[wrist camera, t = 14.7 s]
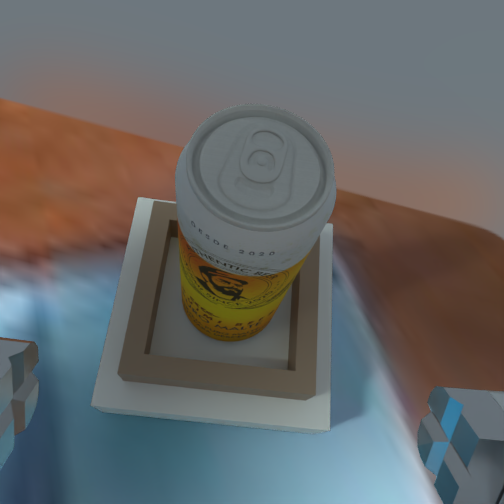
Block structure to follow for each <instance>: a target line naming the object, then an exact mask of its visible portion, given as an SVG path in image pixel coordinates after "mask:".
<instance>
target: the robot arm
mask: <svg viewBox="0 0 504 504" xmlns="http://www.w3.org/2000/svg"><path fill="white" fill-rule="evenodd" d="M38 361H39V359H38V346H37V345H36V343H35V342H33V341H25V340H17V339H9V338H2V337H0V470H1V468H2V467H3V465H4V463H5V462H6V460H7V458H8V457H9V455H10V454H11V452H12V450H13V449H14V436H15V435H16V434H18V433H20V432H22V431H23V430H25V429H26V427H27V426H28V424H29V422H30V420H31V419H32V416H33V413H34V410H35V408H36V405H37V400H38V393H39V380H38V379H37V377H36V376H35V375H34V374H33V372H32V370H33V368H34V367H35V366H36V364H37V363H38ZM428 405H429V407H430V409H431V412H430V413H429V414H428V415H426V416H425V417H424V418H423V419H421V423H420V426H419V430H418V450H419V454H420V457H421V459H422V461H423V464H424V466H425V467H426V468H427V469H429V470H430V471H431V472H432V473H433V474H435V475H436V476H437V477H436V480H435V483H434V486H435V488H436V490H437V492H438V494H439V496H440V498H441V500H442V502H443V504H504V391H490V390H473V389H462V388H450V387H439V386H436V387H435V388H434V389H433V390H432V392H431V394H430V396H429V399H428Z"/></svg>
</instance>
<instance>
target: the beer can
mask: <svg viewBox="0 0 504 504" xmlns="http://www.w3.org/2000/svg"><path fill="white" fill-rule="evenodd" d="M175 186H176V204H177V222H178V240H179V258H180V275H181V293H182V304H183V308H184V311H185V313H186V315H187V317H188V319H189V320H190V322H191V323H192V324H193V325H194V326H195V328H196V329H198V330H199V331H200V332H201V333H203V334H205V335H206V336H208V337H210V338H213V339H216V340H219V341H226V342H236V341H242V340H246V339H248V338H251V337H253V336H255V335H256V334H258V333H259V332H261V331H262V330H263V329H264V328H265V327H266V326H267V325H268V324H269V322H270V321H271V319H272V317H273V316H274V314H275V312H276V310H277V309H278V307H279V305H280V303H281V302H282V300H283V298H284V296H285V295H286V293H287V291H288V289H289V288H290V286H291V284H292V282H293V281H294V279H295V277H296V275H297V274H298V272H299V270H300V268H301V267H302V265H303V263H304V261H305V260H306V258H307V256H308V255H309V253H310V251H311V249H312V248H313V246H314V244H315V242H316V241H317V239H318V237H319V235H320V234H321V232H322V230H323V228H324V227H325V225H326V223H327V221H328V220H329V218H330V216H331V214H332V211H333V208H334V205H335V200H336V181H335V176H334V163H333V158H332V155H331V152H330V150H329V148H328V146H327V144H326V142H325V141H324V139H323V137H322V136H321V135H320V134H319V133H318V131H317V130H316V129H315V128H314V127H313V126H311V125H310V124H309V123H308V122H306V121H305V120H304V119H302V118H300V117H299V116H297V115H295V114H293V113H291V112H289V111H287V110H284V109H281V108H278V107H274V106H269V105H263V104H244V105H237V106H233V107H229V108H226V109H223V110H221V111H219V112H217V113H215V114H213V115H212V116H210V117H209V118H207V119H206V120H205V121H204V122H203V123H202V124H201V125H200V126H199V127H198V128H197V130H196V131H195V132H194V134H193V136H192V138H191V140H190V141H189V142H188V143H187V145H186V146H185V147H184V149H183V151H182V153H181V155H180V157H179V160H178V163H177V167H176V173H175Z"/></svg>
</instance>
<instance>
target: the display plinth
mask: <svg viewBox="0 0 504 504" xmlns="http://www.w3.org/2000/svg"><path fill="white" fill-rule="evenodd" d="M332 254H333V224H329V223H326V225H325V227H324V228H323V230H322V232H321V234H320V235H319V237H318V239H317V241H316V242H315V244H314V246H313V248H312V249H311V251H310V253H309V255H308V256H307V258H306V260H305V261H304V263H303V265H302V267H301V268H300V270H299V272H298V274H297V275H296V277H295V279H294V281H293V282H292V284H291V286H290V288H289V289H288V291H287V293H286V295H285V296H284V298H283V300H282V302H281V303H280V305H279V307H278V309H277V310H276V312H275V314H274V316H273V317H272V319H271V321H270V322H269V324H268V325H267V326H266V327H265V328H264V329H263V330H262V331H261V332H259V333H258V334H256V335H255V336H253V337H251V338H248V339H246V340H242V341H236V342H226V341H219V340H216V339H213V338H210V337H208V336H206V335H205V334H203V333H201V332H200V331H199V330H198V329H196V328H195V326H194V325H193V324H192V323H191V322H190V320H189V319H188V317H187V315H186V313H185V311H184V308H183V304H182V293H181V275H180V258H179V240H178V222H177V204H176V202H171V201H163V200H156V199H149V198H142V197H138V200H137V204H136V209H135V213H134V217H133V222H132V226H131V230H130V235H129V239H128V244H127V248H126V252H125V257H124V261H123V265H122V270H121V274H120V278H119V283H118V287H117V292H116V296H115V300H114V305H113V309H112V313H111V318H110V322H109V326H108V331H107V335H106V339H105V344H104V348H103V353H102V357H101V361H100V366H99V370H98V374H97V379H96V383H95V387H94V392H93V396H92V401H91V405H90V406H92V407H94V408H96V409H98V410H99V411H101V412H105V413H115V414H124V415H134V416H144V417H153V418H163V419H173V420H182V421H192V422H202V423H211V424H221V425H230V426H240V427H250V428H259V429H269V430H279V431H288V432H298V433H307V434H317V433H321V432H326V431H330V400H331V327H332Z"/></svg>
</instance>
